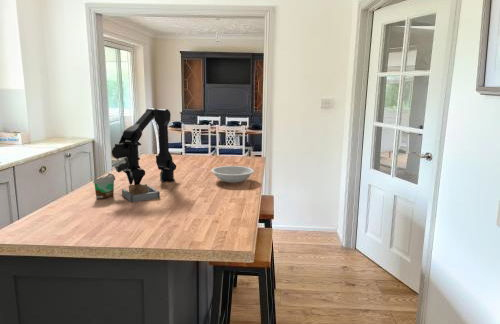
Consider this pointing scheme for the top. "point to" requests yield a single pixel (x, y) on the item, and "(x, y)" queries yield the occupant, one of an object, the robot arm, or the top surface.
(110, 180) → the food container
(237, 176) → the soup bowl
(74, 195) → the top surface
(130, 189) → the wooden t-shaped block
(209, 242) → the top surface
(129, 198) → the corral
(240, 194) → the top surface
